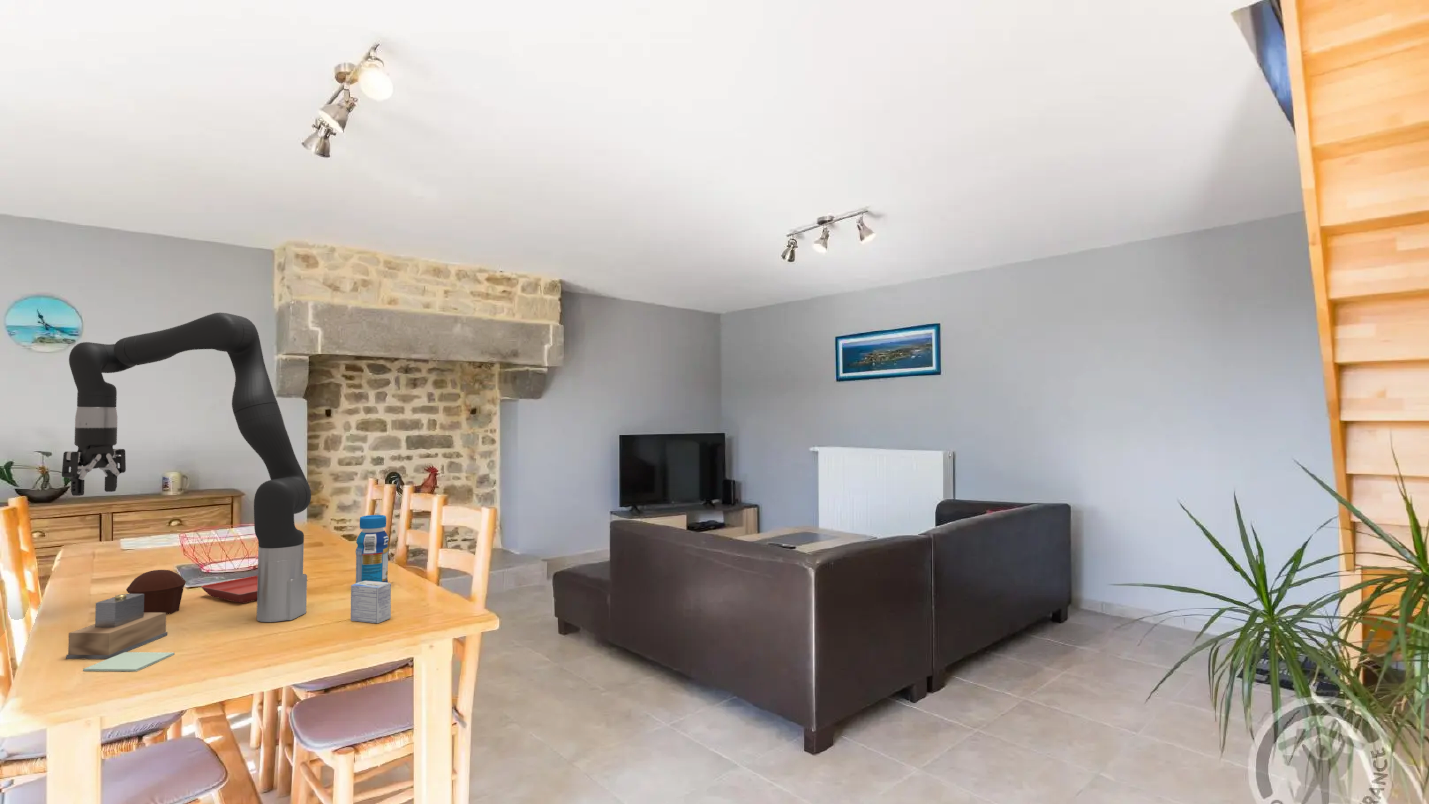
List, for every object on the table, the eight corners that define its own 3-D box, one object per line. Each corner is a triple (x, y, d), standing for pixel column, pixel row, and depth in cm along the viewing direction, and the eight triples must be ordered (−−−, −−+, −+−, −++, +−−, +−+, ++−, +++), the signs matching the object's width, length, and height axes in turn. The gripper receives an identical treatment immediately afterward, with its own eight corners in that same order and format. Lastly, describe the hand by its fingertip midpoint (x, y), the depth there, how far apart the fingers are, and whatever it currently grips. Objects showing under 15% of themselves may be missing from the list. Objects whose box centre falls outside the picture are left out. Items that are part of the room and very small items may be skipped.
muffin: (194, 610, 166) (195, 570, 166) (138, 622, 157) (139, 579, 157) (172, 603, 172) (173, 564, 172) (117, 614, 163) (118, 572, 163)
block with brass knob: (143, 617, 144) (144, 590, 144) (114, 627, 137) (115, 599, 137) (124, 617, 144) (125, 590, 144) (95, 627, 137) (95, 599, 137)
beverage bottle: (347, 589, 187) (349, 517, 188) (373, 582, 195) (375, 513, 196) (369, 592, 184) (370, 519, 184) (395, 585, 192) (396, 515, 192)
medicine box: (391, 618, 161) (392, 582, 161) (377, 624, 157) (378, 586, 157) (364, 615, 163) (365, 579, 164) (349, 621, 159) (350, 584, 159)
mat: (174, 654, 136) (174, 652, 136) (136, 671, 127) (136, 669, 127) (124, 654, 136) (124, 652, 136) (83, 671, 127) (83, 668, 127)
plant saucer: (269, 583, 194) (269, 572, 195) (308, 591, 187) (309, 579, 187) (198, 598, 178) (199, 585, 178) (238, 607, 170) (239, 594, 170)
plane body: (167, 635, 148) (167, 612, 148) (108, 658, 133) (109, 633, 133) (128, 634, 148) (129, 611, 148) (66, 658, 133) (66, 633, 133)
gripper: (84, 426, 155) (82, 497, 155) (137, 425, 169) (135, 490, 169) (51, 426, 155) (49, 497, 154) (107, 425, 169) (105, 490, 169)
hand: (94, 493), depth 162 cm, fingers open, 8 cm apart
